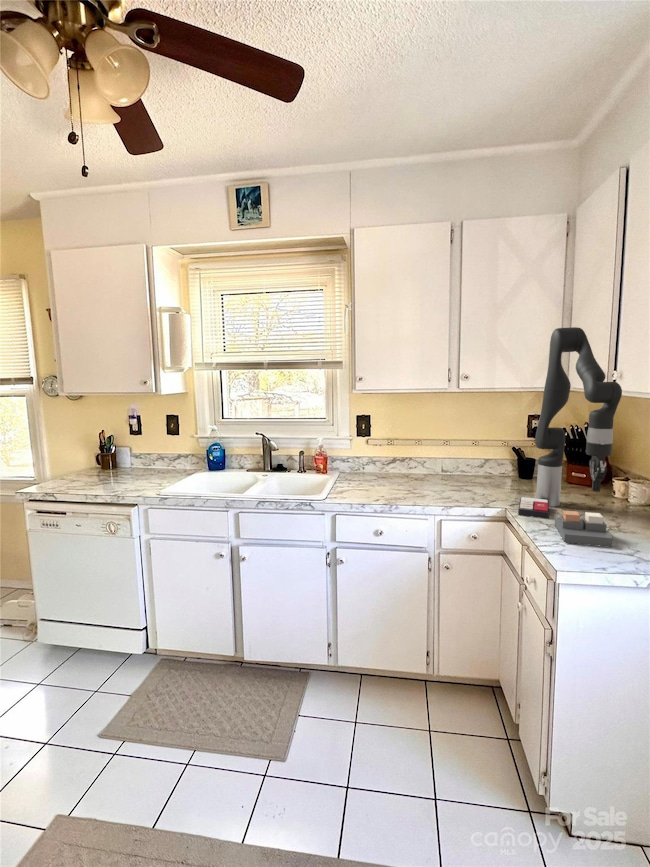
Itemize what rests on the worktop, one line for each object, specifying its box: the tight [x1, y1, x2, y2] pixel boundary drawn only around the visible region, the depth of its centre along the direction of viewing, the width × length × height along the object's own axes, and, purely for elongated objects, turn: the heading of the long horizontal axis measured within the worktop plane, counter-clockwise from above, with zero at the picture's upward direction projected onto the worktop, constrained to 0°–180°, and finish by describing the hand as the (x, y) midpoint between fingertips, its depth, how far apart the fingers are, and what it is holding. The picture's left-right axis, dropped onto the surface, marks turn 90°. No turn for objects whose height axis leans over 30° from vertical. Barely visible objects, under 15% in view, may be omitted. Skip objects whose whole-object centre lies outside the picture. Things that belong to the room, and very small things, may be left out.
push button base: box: [553, 515, 614, 548], centre depth 155 cm, size 18×14×6 cm
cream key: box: [584, 511, 604, 524], centre depth 154 cm, size 4×4×2 cm
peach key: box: [562, 510, 581, 522], centre depth 156 cm, size 4×4×2 cm
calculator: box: [517, 496, 550, 519], centre depth 182 cm, size 11×4×15 cm
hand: (595, 491), depth 153 cm, fingers closed
